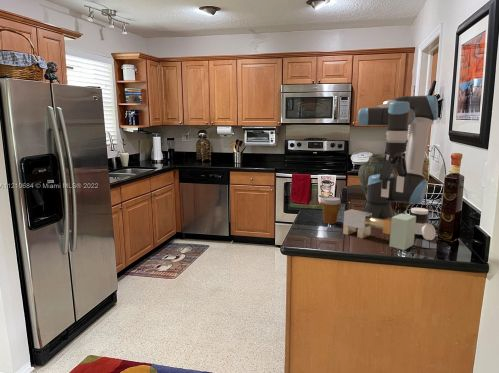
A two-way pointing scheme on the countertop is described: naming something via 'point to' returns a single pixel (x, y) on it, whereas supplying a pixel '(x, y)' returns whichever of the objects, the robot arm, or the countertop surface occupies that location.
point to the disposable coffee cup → (330, 209)
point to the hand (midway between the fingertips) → (392, 194)
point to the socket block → (402, 231)
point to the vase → (372, 170)
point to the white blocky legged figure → (356, 223)
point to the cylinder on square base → (379, 224)
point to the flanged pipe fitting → (423, 224)
